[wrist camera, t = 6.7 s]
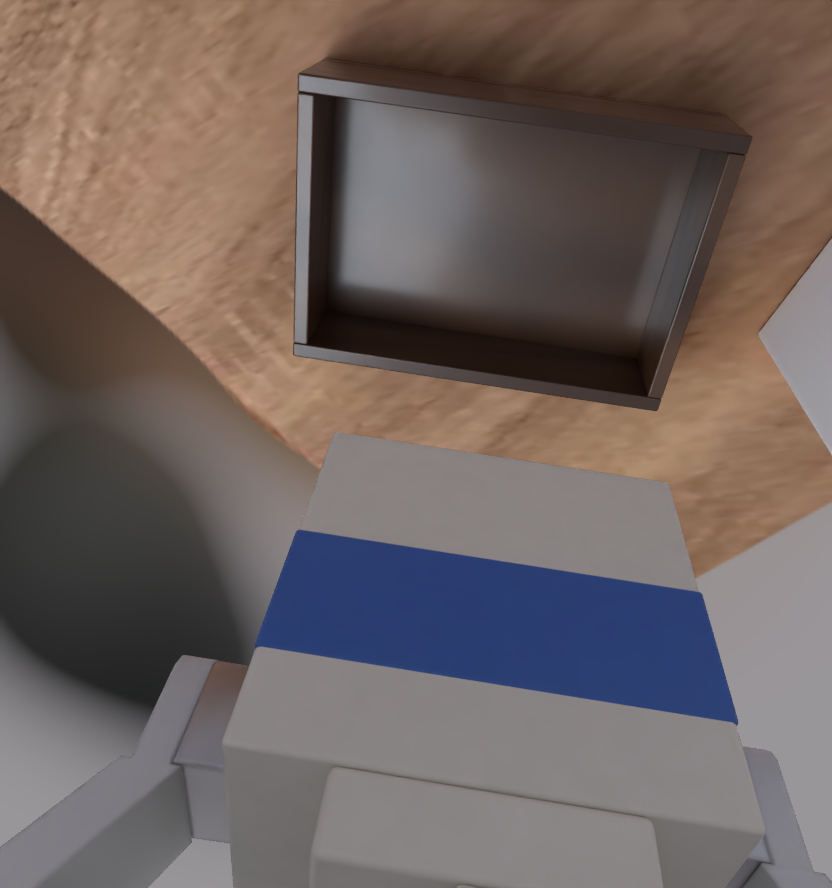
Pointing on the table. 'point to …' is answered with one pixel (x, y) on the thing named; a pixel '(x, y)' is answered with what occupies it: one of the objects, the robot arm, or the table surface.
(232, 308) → the table surface
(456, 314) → the box
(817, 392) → the milk
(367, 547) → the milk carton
